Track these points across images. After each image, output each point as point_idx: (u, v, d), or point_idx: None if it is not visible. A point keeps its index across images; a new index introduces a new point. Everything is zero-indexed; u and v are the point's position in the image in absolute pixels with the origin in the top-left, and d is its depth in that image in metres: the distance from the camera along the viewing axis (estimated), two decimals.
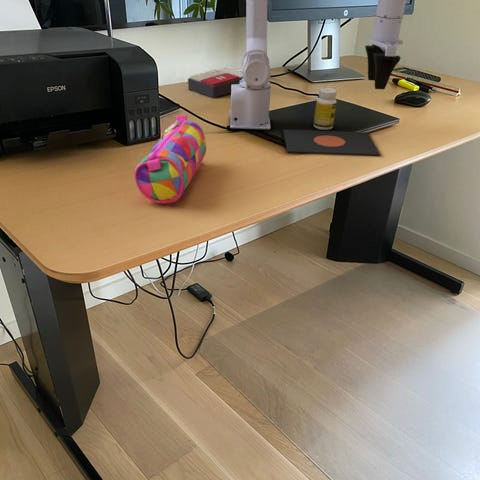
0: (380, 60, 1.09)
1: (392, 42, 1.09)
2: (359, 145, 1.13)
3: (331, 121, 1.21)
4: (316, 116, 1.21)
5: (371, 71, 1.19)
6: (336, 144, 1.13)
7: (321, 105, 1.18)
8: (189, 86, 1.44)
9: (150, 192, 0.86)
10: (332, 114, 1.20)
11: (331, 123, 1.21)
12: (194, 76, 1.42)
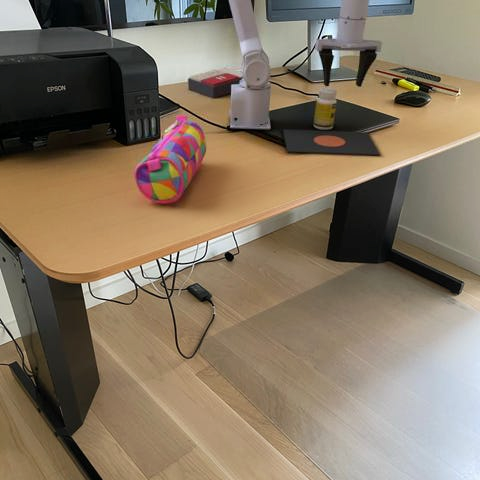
0: (319, 54, 1.14)
1: (338, 41, 1.10)
2: (359, 145, 1.13)
3: (331, 121, 1.21)
4: (316, 116, 1.21)
5: (358, 76, 1.17)
6: (336, 144, 1.13)
7: (321, 105, 1.18)
8: (189, 86, 1.44)
9: (150, 192, 0.86)
10: (332, 114, 1.20)
11: (331, 123, 1.21)
12: (194, 76, 1.42)
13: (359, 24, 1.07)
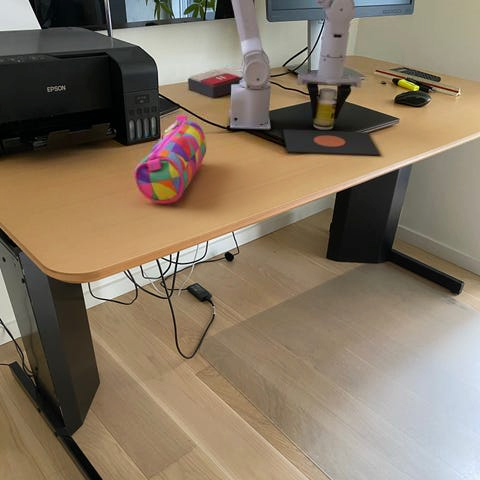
0: (307, 87, 1.19)
1: (318, 77, 1.15)
2: (359, 145, 1.13)
3: (331, 121, 1.21)
4: (316, 116, 1.21)
5: None
6: (336, 144, 1.13)
7: (321, 105, 1.18)
8: (189, 86, 1.44)
9: (150, 192, 0.86)
10: (332, 114, 1.20)
11: (331, 123, 1.21)
12: (194, 76, 1.42)
13: (337, 62, 1.12)
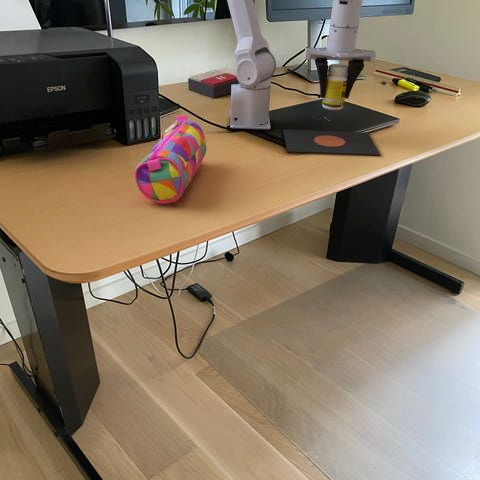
0: (315, 63, 1.08)
1: (328, 50, 1.04)
2: (359, 145, 1.13)
3: (342, 100, 1.10)
4: (325, 95, 1.10)
5: (346, 87, 1.10)
6: (336, 144, 1.13)
7: (331, 82, 1.07)
8: (189, 86, 1.44)
9: (150, 192, 0.86)
10: (343, 92, 1.09)
11: (342, 103, 1.10)
12: (194, 76, 1.42)
13: (349, 33, 1.01)
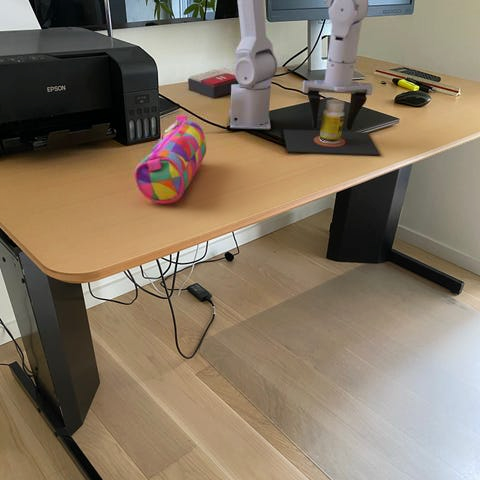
0: None
1: (325, 84, 1.06)
2: (359, 145, 1.13)
3: (339, 135, 1.12)
4: (322, 129, 1.12)
5: (349, 118, 1.12)
6: (336, 144, 1.13)
7: (328, 117, 1.09)
8: (189, 86, 1.44)
9: (150, 192, 0.86)
10: (339, 127, 1.11)
11: (338, 137, 1.12)
12: (194, 76, 1.42)
13: (346, 67, 1.02)
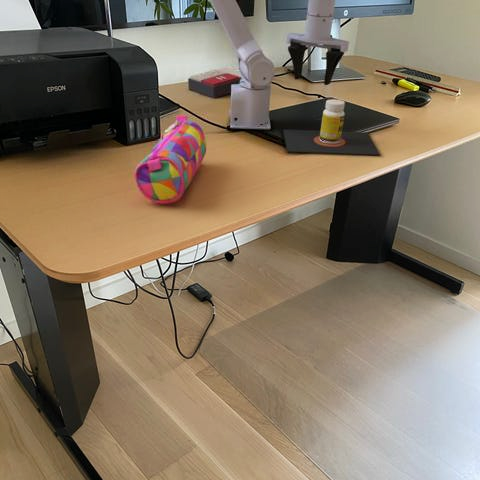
0: (336, 57, 1.13)
1: (330, 38, 1.14)
2: (359, 145, 1.13)
3: (339, 135, 1.12)
4: (322, 129, 1.12)
5: (297, 70, 1.20)
6: (336, 144, 1.13)
7: (328, 117, 1.09)
8: (189, 86, 1.44)
9: (150, 192, 0.86)
10: (339, 127, 1.11)
11: (338, 137, 1.12)
12: (194, 76, 1.42)
13: None
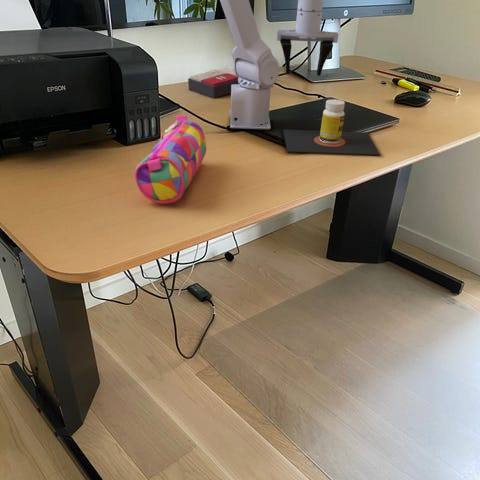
0: None
1: None
2: (359, 145, 1.13)
3: (339, 135, 1.12)
4: (322, 129, 1.12)
5: None
6: (336, 144, 1.13)
7: (328, 117, 1.09)
8: (189, 86, 1.44)
9: (151, 192, 0.86)
10: (339, 127, 1.11)
11: (338, 137, 1.12)
12: (194, 76, 1.42)
13: None
